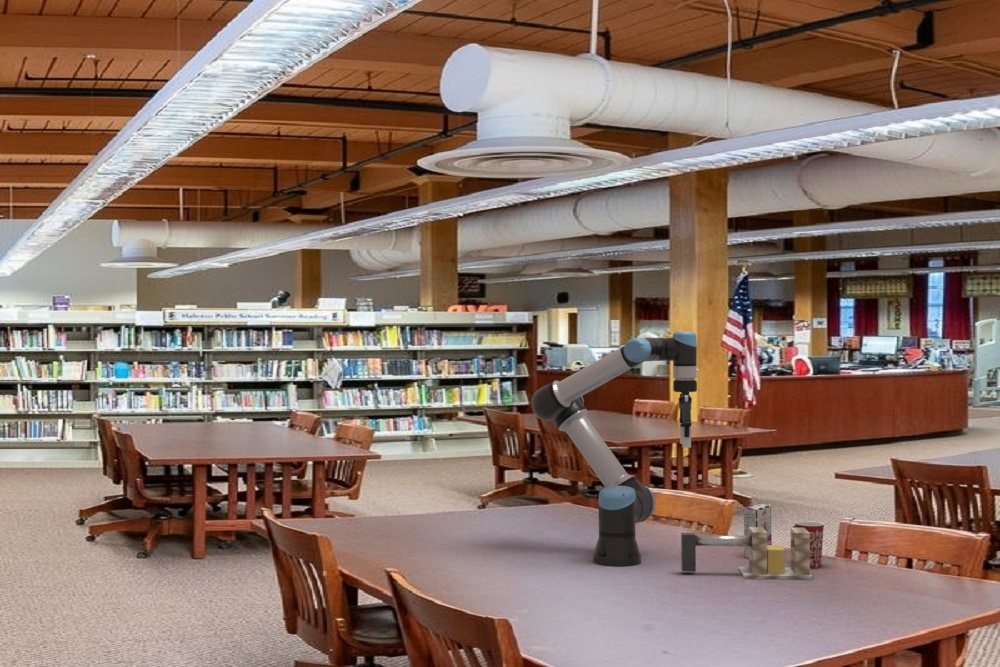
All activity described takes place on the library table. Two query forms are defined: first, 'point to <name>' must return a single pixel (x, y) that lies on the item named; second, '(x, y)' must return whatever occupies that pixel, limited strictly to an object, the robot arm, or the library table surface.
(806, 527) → the mug
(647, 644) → the library table surface
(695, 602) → the library table surface
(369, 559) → the library table surface
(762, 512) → the candy bar box
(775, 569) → the spacer
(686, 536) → the shaft
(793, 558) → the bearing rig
